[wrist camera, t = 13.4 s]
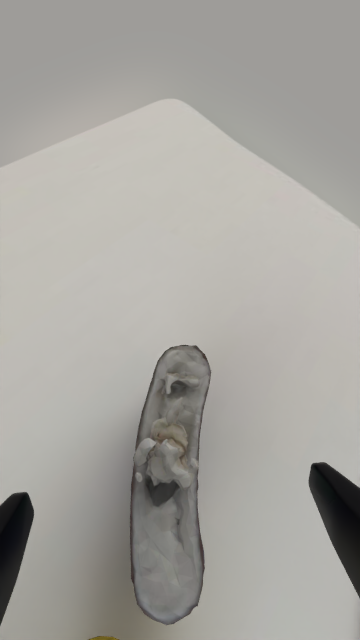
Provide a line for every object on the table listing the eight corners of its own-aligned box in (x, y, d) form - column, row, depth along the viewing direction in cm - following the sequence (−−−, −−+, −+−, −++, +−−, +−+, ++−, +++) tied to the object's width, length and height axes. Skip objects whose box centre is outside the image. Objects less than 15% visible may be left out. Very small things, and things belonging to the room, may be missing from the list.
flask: (188, 539, 16) (211, 683, 6) (139, 535, 16) (87, 671, 6) (196, 383, 20) (218, 324, 10) (156, 380, 20) (140, 318, 10)
